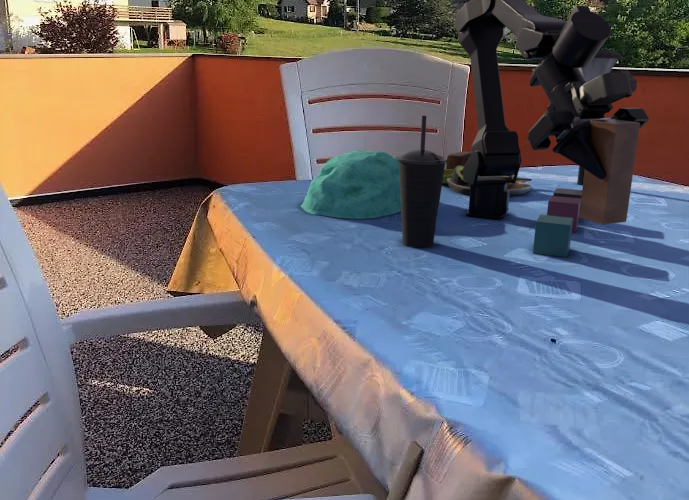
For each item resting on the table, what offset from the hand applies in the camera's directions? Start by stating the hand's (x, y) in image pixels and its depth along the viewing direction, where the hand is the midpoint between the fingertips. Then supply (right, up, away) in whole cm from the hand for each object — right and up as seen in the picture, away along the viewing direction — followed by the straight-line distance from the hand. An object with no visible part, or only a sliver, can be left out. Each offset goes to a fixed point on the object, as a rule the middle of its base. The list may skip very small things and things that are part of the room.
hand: (615, 176), depth 99 cm
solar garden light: (+17, +5, +65) cm, 68 cm away
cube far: (+3, -4, +32) cm, 33 cm away
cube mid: (0, -6, +25) cm, 26 cm away
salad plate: (-7, +3, +57) cm, 58 cm away
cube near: (-6, -10, +11) cm, 16 cm away
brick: (-9, +9, +78) cm, 79 cm away
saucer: (-14, +6, +64) cm, 66 cm away
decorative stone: (-35, -1, +42) cm, 54 cm away
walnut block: (-1, -6, +3) cm, 7 cm away
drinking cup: (-26, -9, +14) cm, 31 cm away
